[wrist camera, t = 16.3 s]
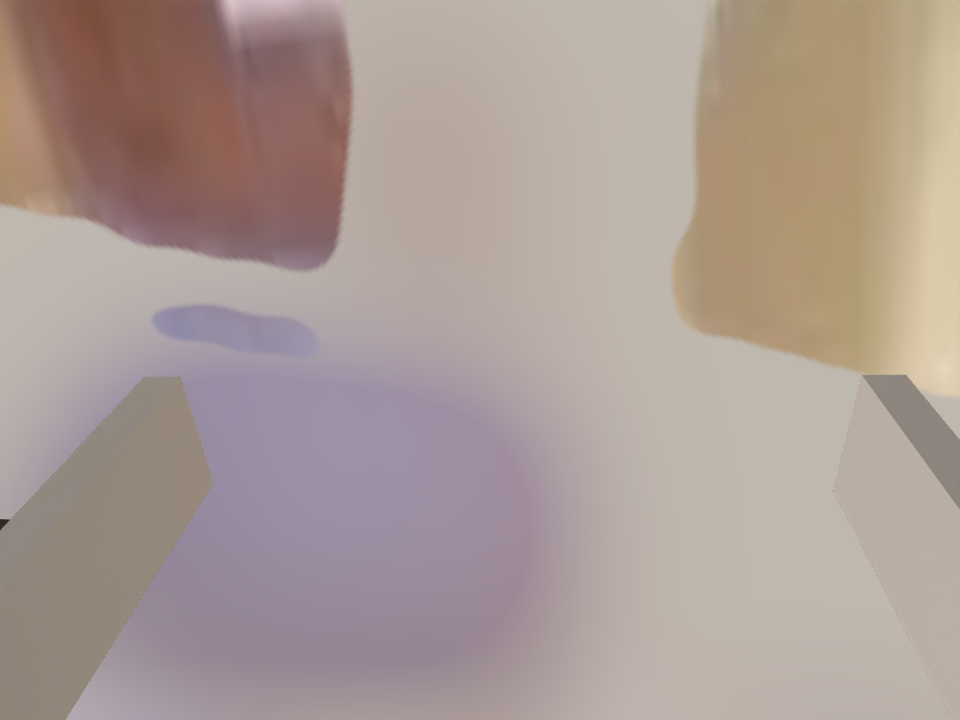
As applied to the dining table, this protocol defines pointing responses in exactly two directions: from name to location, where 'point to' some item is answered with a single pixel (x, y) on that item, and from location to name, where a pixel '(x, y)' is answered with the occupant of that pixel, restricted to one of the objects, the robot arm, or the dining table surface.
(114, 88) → the dining table surface
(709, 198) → the dining table surface
